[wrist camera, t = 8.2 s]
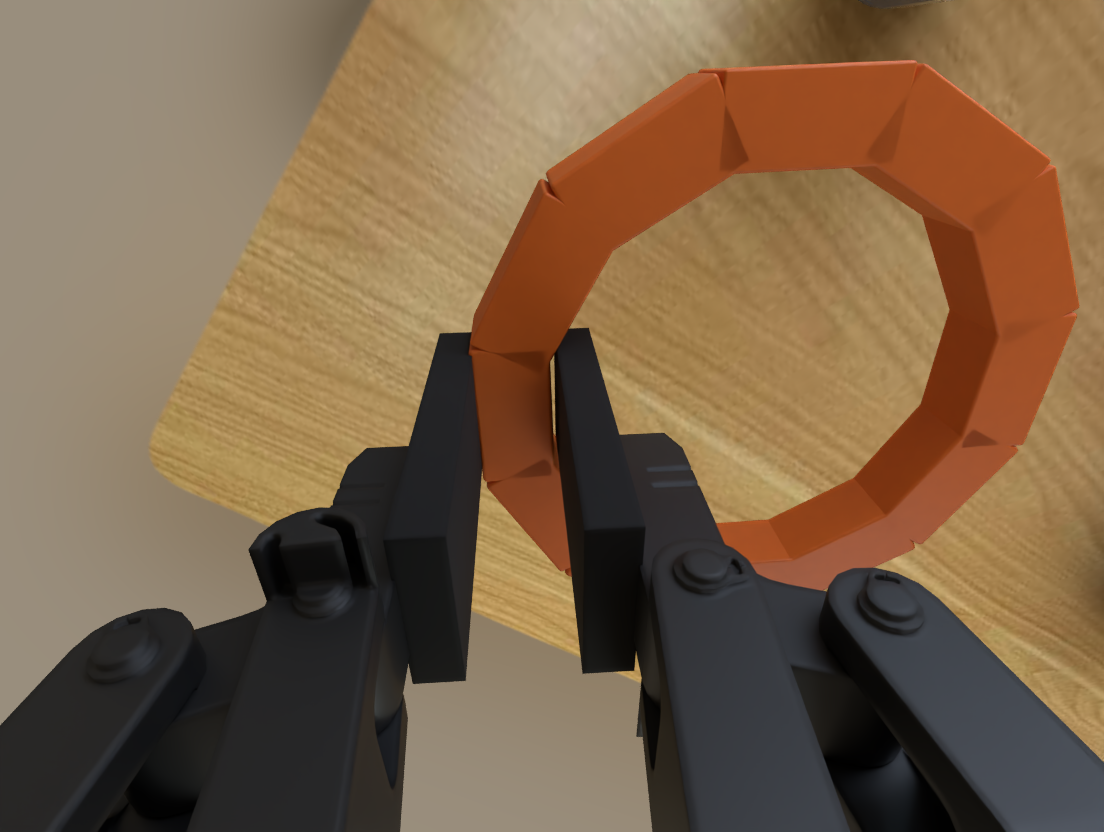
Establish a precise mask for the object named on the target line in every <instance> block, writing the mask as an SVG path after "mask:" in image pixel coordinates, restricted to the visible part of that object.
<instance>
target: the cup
mask: <svg viewBox="0 0 1104 832" xmlns="http://www.w3.org/2000/svg"><path fill="white" fill-rule="evenodd" d="M859 1H860V2H862V3H863V4H865V5H868V6H870V7H874V8H879V9H891V8H901V7H912V6H919V5H926V4H932V3H939V2H946V1H953V0H859Z"/></svg>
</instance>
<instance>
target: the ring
mask: <svg viewBox="0 0 1104 832" xmlns="http://www.w3.org/2000/svg"><path fill="white" fill-rule="evenodd" d="M1050 161H1051V160H1050V158H1049V157H1048V156H1046V155H1045V154H1044V153H1042V152H1041V151H1040V150H1039V149H1037V148H1036V147H1035V146H1033V145H1032V144H1031V143H1029V142H1028V141H1027V140H1025V139H1024V138H1023V137H1022V136H1020V135H1019V134H1018V133H1016V132H1015V131H1014V130H1012V129H1011V128H1010V127H1008V126H1007V125H1006V124H1005V123H1003V122H1002V121H1001V120H999V119H998V118H997V117H995V116H994V115H993V114H991V113H990V112H989V111H988V110H986V109H985V108H984V107H982V106H981V105H980V104H978V103H977V102H976V101H974V100H973V99H972V98H971V97H969V96H968V95H967V94H965V93H964V92H963V91H961V90H960V89H959V88H957V87H956V86H955V85H954V84H952V83H951V82H950V81H948V80H947V79H946V78H944V77H943V76H942V75H940V74H939V73H938V72H937V71H935V70H934V69H933V68H931V67H930V66H929V65H927V64H917V61H915V60H905V61H873V62H849V63H826V64H804V65H782V66H759V67H737V68H715V69H701V70H699V72H698V73H691V74H688V75H686V76H685V77H683V78H682V79H681V80H679V81H678V82H676V83H675V84H673V85H672V86H670V87H669V88H667V89H666V90H665V91H663V92H662V93H660V94H659V95H657V96H656V97H654V98H653V99H651V100H650V101H649V102H647V103H646V104H644V105H643V106H641V107H640V108H638V109H637V110H635V111H634V112H633V113H631V114H630V115H628V116H627V117H625V118H624V119H622V120H621V121H619V122H618V123H616V124H615V125H614V126H612V127H611V128H609V129H608V130H606V131H605V132H603V133H602V134H600V135H599V136H598V137H596V138H595V139H593V140H592V141H590V142H589V143H587V144H586V145H584V146H583V147H582V148H580V149H579V150H577V151H576V152H574V153H573V154H571V155H570V156H568V157H567V158H565V159H564V160H563V161H561V162H560V163H558V164H557V165H555V166H554V167H552V168H551V169H549V170H548V171H547V173H546V176H547V179H548V182H547V181H545V180H544V179H540V180H539V181H538V183H537V186H536V188H535V190H534V192H533V194H532V196H531V198H530V200H529V202H528V204H527V206H526V208H525V210H524V212H523V215H522V217H521V219H520V221H519V223H518V225H517V227H516V229H515V231H514V233H513V235H512V237H511V239H510V241H509V244H508V246H507V248H506V250H505V252H504V254H503V256H502V258H501V260H500V262H499V264H498V266H497V268H496V270H495V273H494V275H493V277H492V279H491V281H490V283H489V285H488V287H487V289H486V291H485V293H484V295H483V297H482V299H481V302H480V304H479V306H478V308H477V310H476V312H475V314H474V318H473V326H472V333H471V340H470V347H469V355H470V356H472V365H473V376H474V387H475V398H476V408H477V419H478V430H479V440H480V450H481V461H482V472H483V478H484V480H485V481H487V488H488V489H489V490H490V491H491V493H492V494H493V495H494V496H495V497H496V498H497V499H498V501H499V502H500V503H501V504H502V505H503V506H504V507H505V509H506V510H507V511H508V512H509V513H510V514H511V515H512V517H513V518H514V519H515V520H516V521H517V522H518V523H519V525H520V526H521V527H522V528H523V529H524V530H525V531H526V533H527V534H528V535H529V536H530V537H531V538H532V539H533V541H534V542H535V543H536V544H537V545H538V546H539V547H540V549H541V550H542V551H543V552H544V553H545V554H546V555H547V557H548V558H549V559H550V560H551V561H552V562H553V563H554V565H555V566H556V567H557V568H558V569H559V570H560V571H564V570H565V573H566V574H567V575H568V576H571V577H572V575H571V566H570V557H569V548H568V540H567V531H566V522H565V513H564V504H563V496H562V487H561V478H560V469H559V460H558V452H557V443H556V436H555V435H554V433H553V418H552V395H551V372H550V361H551V359H552V357H553V356H554V354H555V352H556V350H557V349H558V347H559V345H560V343H561V341H562V340H563V338H564V336H565V334H566V333H567V331H568V329H569V327H570V326H571V324H572V322H573V320H574V318H575V317H576V315H577V313H578V311H579V310H580V308H581V306H582V304H583V303H584V301H585V299H586V297H587V296H588V294H589V292H590V290H591V288H592V287H593V285H594V283H595V281H596V280H597V278H598V276H599V274H600V273H601V271H602V269H603V267H604V265H605V264H606V262H607V260H608V258H609V257H610V255H611V253H612V251H613V250H615V249H617V248H618V247H620V246H621V245H623V244H624V243H626V242H628V241H629V240H631V239H632V238H634V237H635V236H637V235H639V234H640V233H642V232H643V231H645V230H646V229H648V228H650V227H651V226H653V225H654V224H656V223H658V222H659V221H661V220H662V219H664V218H665V217H667V216H669V215H670V214H672V213H673V212H675V211H676V210H678V209H680V208H681V207H683V206H684V205H686V204H687V203H689V202H691V201H692V200H694V199H695V198H697V197H699V196H700V195H702V194H703V193H705V192H706V191H708V190H710V189H711V188H713V187H714V186H716V185H717V184H719V183H721V182H722V181H724V180H725V179H727V178H728V177H730V176H732V175H733V174H740V173H760V172H779V171H799V170H818V169H838V168H852V169H853V170H855V171H856V172H858V173H859V174H861V175H862V176H864V177H865V178H867V179H868V180H870V181H871V182H873V183H874V184H876V185H877V186H879V187H880V188H882V189H883V190H885V191H886V192H888V193H889V194H891V195H892V196H894V197H895V198H897V199H899V200H900V201H902V202H903V203H905V204H906V205H908V206H909V207H911V208H912V209H914V210H915V211H917V212H918V213H920V214H921V215H922V217H923V220H924V224H925V227H926V230H927V234H928V237H929V241H930V244H931V247H932V251H933V254H934V258H935V261H936V264H937V268H938V271H939V275H940V278H941V282H942V285H943V288H944V292H945V295H946V299H947V302H948V305H949V309H950V310H949V313H948V317H947V320H946V323H945V326H944V330H943V333H942V336H941V340H940V343H939V346H938V349H937V353H936V356H935V359H934V362H933V366H932V369H931V372H930V375H929V379H928V382H927V385H926V389H925V392H924V395H923V398H922V402H921V404H920V406H919V407H918V408H917V409H916V410H915V411H914V412H913V413H912V414H911V415H910V417H909V418H908V419H907V420H906V421H905V422H904V423H903V424H902V425H901V426H900V428H899V429H898V430H897V431H896V432H895V433H894V434H893V435H892V436H891V437H890V439H889V440H888V441H887V442H886V443H885V444H884V445H883V446H882V447H881V448H880V450H879V451H878V452H877V453H876V454H875V455H874V456H873V457H872V458H871V459H870V460H869V462H868V463H867V464H866V465H865V466H864V467H863V468H862V469H861V470H860V471H859V473H858V474H857V475H856V476H855V477H854V478H853V479H851V480H849V481H846V482H844V483H842V484H840V485H838V486H836V487H834V488H832V489H830V490H828V491H826V492H824V493H822V494H820V495H818V496H816V497H814V498H812V499H810V500H808V501H806V502H804V503H802V504H799V505H797V506H795V507H793V508H791V509H789V510H787V511H785V512H783V513H781V514H779V515H777V516H775V517H773V518H771V519H769V520H755V521H741V522H728V523H716V525H717V527H718V529H719V532H720V534H721V536H722V538H723V541H724V543H725V545H727V546H730V547H732V548H734V549H735V550H737V551H738V552H739V553H740V554H742V555H743V556H744V557H746V558H747V559H748V560H749V562H750V563H751V565H752V566H753V568H754V570H755V571H756V573H757V574H759V575H761V576H764V577H766V578H768V579H771V580H774V581H778V582H782V583H785V584H790V585H795V586H800V587H806V588H811V589H816V590H821V591H822V590H825V589H827V588H828V587H829V585H830V583H831V582H832V581H833V579H834V578H835V577H836V575H837V574H839V573H842V572H844V571H847V570H849V569H852V568H873V567H875V566H878V565H880V564H882V563H884V562H887V561H889V560H891V559H893V558H895V557H898V556H900V555H902V554H904V553H906V552H909V551H911V550H913V549H914V548H915V546H914V543H913V542H915V543H918V544H922V543H923V542H924V541H925V540H927V539H928V538H929V537H930V536H931V535H932V534H933V533H934V532H935V531H936V530H937V529H938V528H939V527H940V526H941V525H942V524H943V523H944V522H945V521H946V520H947V519H948V518H949V517H950V516H951V515H952V514H953V513H955V512H956V511H957V510H958V509H959V508H960V507H961V506H962V505H963V504H964V503H965V502H966V501H967V500H968V499H969V498H970V497H971V496H972V495H973V494H974V493H975V492H976V491H977V490H978V489H979V488H980V487H982V486H983V485H984V484H985V483H986V482H987V481H988V480H989V479H990V478H991V477H992V476H993V475H994V474H995V473H996V472H997V471H998V470H999V469H1000V468H1001V467H1002V466H1003V465H1004V464H1005V463H1006V462H1007V461H1008V460H1010V459H1011V458H1012V457H1013V456H1014V455H1015V454H1016V453H1017V451H1018V449H1017V447H1015V446H1014V445H1022V444H1023V443H1024V442H1025V439H1026V437H1027V434H1028V432H1029V430H1030V427H1031V425H1032V422H1033V420H1034V418H1035V415H1036V413H1037V411H1038V408H1039V406H1040V403H1041V401H1042V399H1043V396H1044V394H1045V391H1046V389H1047V387H1048V384H1049V382H1050V380H1051V377H1052V375H1053V372H1054V370H1055V368H1056V365H1057V363H1058V361H1059V358H1060V356H1061V353H1062V351H1063V349H1064V346H1065V344H1066V341H1067V339H1068V337H1069V334H1070V332H1071V330H1072V327H1073V325H1074V322H1075V320H1076V318H1077V314H1076V313H1074V312H1072V311H1074V310H1076V309H1078V308H1079V301H1078V295H1077V289H1076V284H1075V278H1074V272H1073V266H1072V260H1071V254H1070V248H1069V242H1068V237H1067V231H1066V225H1065V219H1064V213H1063V207H1062V201H1061V196H1060V190H1059V184H1058V178H1057V172H1056V167H1055V166H1053V165H1048V164H1049V163H1050Z"/></svg>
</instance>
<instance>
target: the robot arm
mask: <svg viewBox="0 0 1104 832" xmlns="http://www.w3.org/2000/svg"><path fill="white" fill-rule="evenodd" d="M471 333H472V332H467V333H440V335H439V338H438V342H437V346H436V349H435V353H434V357H433V360H432V364H431V367H430V371H429V375H428V378H427V382H426V385H425V389H424V393H423V396H422V400H421V404H420V407H419V411H418V414H417V418H416V422H415V425H414V429H413V432H412V436H411V440H410V443H409V446H402V447H380V448H366V449H365V450H364V451H363V452H362V453H361V454H360V455H359V456H358V457H356V458H355V459H354V460H353V461H352V462H351V463H350V464H349V465H348V466H347V469H346V471H345V474H344V476H343V478H342V481H341V483H340V489H338V490H337V493H336V495H335V498H334V500H333V506H331V507H330V508H315V509H310V510H305V511H301V512H297V513H294V514H292V515H290V516H288V517H285V518H283V519H281V520H279V521H276V522H275V523H274V524H272V525H271V526H270V527H268V528H267V529H266V530H264V531H263V532H262V533H260V534H259V536H258V537H257V538H256V540H255V541H254V543H253V544H252V545H251V547H250V548H249V553H250V556H251V558H252V561H253V564H254V567H255V569H256V572H257V575H258V578H259V581H260V583H261V586H262V589H263V591H264V594H265V597H266V600H267V602H266V605H265V606H264V607H262V608H260V609H259V610H256V611H253V612H250V613H248V614H245V615H243V616H239V617H236V618H233V619H229V620H226V621H223V622H219V623H216V624H213V625H209V626H206V627H202V628H199V629H196V630H194V628H193V626H192V624H191V622H190V621H189V620H188V619H187V618H186V617H185V616H184V615H183V613H182V612H178V611H174V610H171V609H167V608H157V609H146V610H140V611H137V612H134V613H131V614H128V615H125V616H122V617H119V618H116V619H115V620H113V621H111V622H109V623H107V624H106V625H104V626H102V627H100V628H99V629H97V630H95V631H93V632H92V633H90V634H89V635H88V636H87V637H86V638H85V639H83V640H82V641H81V642H80V643H79V644H78V645H76V646H75V647H74V648H73V649H72V650H71V651H70V652H69V653H68V654H67V655H66V656H65V657H64V658H63V659H62V660H61V661H60V662H59V663H58V664H57V666H56V667H55V668H54V669H53V670H52V671H51V672H50V673H49V674H48V675H47V676H46V677H45V678H44V679H43V680H42V681H41V683H40V684H39V685H38V686H37V687H36V688H35V689H34V690H33V691H32V692H31V693H30V694H29V695H28V697H26V699H25V700H24V701H23V702H22V703H21V704H20V705H19V706H18V707H17V708H16V709H15V710H14V711H13V712H12V713H11V714H10V716H9V717H8V718H7V719H6V720H5V721H4V722H3V723H2V724H1V725H0V832H400V824H401V808H402V795H403V780H404V765H405V750H406V736H407V722H408V717H407V711H406V704H405V699H404V695H403V690H404V685H405V679H406V673H407V668H408V663H409V668H410V673H411V677H412V682H413V684H419V683H436V682H453V681H465V680H466V669H467V655H468V643H469V630H470V617H471V605H472V592H473V579H474V566H475V553H476V540H477V527H478V514H479V501H480V488H481V476H482V461H481V450H480V440H479V430H478V419H477V408H476V398H475V387H474V376H473V365H472V356H470V355H469V347H470V340H471ZM554 365H555V425H556V443H557V452H558V460H559V469H560V478H561V487H562V496H563V504H564V513H565V522H566V531H567V540H568V548H569V557H570V566H571V575H572V584H573V593H574V601H575V610H576V619H577V628H578V637H579V645H580V654H581V663H582V672H583V674H584V673H601V672H618V671H634V668H635V655H636V653H637V658H638V662H639V667H640V672H641V677H642V680H641V691H640V702H639V714H638V724H637V737H643V744H644V752H645V762H646V772H647V782H648V792H649V802H650V812H651V821H652V831H653V832H1104V762H1103V761H1102V760H1101V759H1100V758H1099V757H1098V756H1097V755H1096V754H1095V753H1094V752H1093V751H1092V750H1091V749H1090V748H1089V747H1088V746H1087V745H1086V744H1085V743H1084V742H1083V741H1082V740H1081V739H1080V738H1079V737H1078V736H1077V735H1076V734H1075V733H1074V732H1073V731H1071V730H1070V729H1069V728H1068V727H1067V726H1066V725H1065V724H1064V723H1063V722H1062V721H1061V720H1060V719H1059V718H1058V717H1057V716H1056V715H1055V714H1054V713H1053V712H1052V711H1051V710H1050V709H1049V708H1048V707H1047V706H1046V705H1045V704H1044V703H1043V702H1042V701H1041V700H1040V699H1039V698H1038V697H1037V696H1036V695H1035V694H1034V693H1033V692H1032V691H1031V690H1030V689H1029V688H1028V687H1027V686H1026V685H1025V684H1024V683H1023V682H1022V681H1021V680H1020V679H1019V678H1018V677H1017V676H1016V675H1015V674H1014V673H1013V672H1012V671H1011V670H1010V669H1009V668H1008V667H1007V666H1006V665H1005V664H1004V663H1003V662H1002V661H1001V660H1000V659H999V658H998V657H997V656H996V655H995V654H994V653H993V652H992V651H991V650H990V649H989V648H988V647H987V646H986V645H985V644H984V643H983V642H982V641H981V640H980V639H979V638H978V637H977V636H976V635H975V634H974V633H973V632H972V631H971V630H970V629H969V628H968V627H967V626H966V625H965V624H964V623H963V622H962V621H961V620H960V619H959V618H958V617H957V616H956V615H955V614H954V613H953V612H952V611H951V610H950V609H949V608H948V607H946V606H945V605H944V604H943V603H942V602H941V601H940V600H939V599H938V598H937V597H936V596H935V595H933V594H932V593H931V592H929V591H928V590H927V589H925V588H924V587H923V586H922V585H920V584H919V583H917V582H915V581H913V580H910V579H908V578H906V577H904V576H902V575H900V574H898V573H895V572H890V571H886V570H882V569H877V568H852V569H849V570H847V571H844V572H842V573H839V574H837V575H836V577H835V578H834V579H833V581H832V582H831V583H830V585H829V587H828V590H827V592H826V591H821V590H816V589H811V588H806V587H800V586H795V585H790V584H785V583H782V582H778V581H774V580H771V579H768V578H766V577H764V576H761V575H759V574H757V573H756V571H755V570H754V568H753V566H752V565H751V563H750V562H749V560H748V559H747V558H746V557H744V556H743V555H742V554H740V553H739V552H738V551H737V550H735V549H734V548H732V547H730V546H727V545H725V543H724V541H723V538H722V536H721V534H720V532H719V529H718V527H717V525H716V523H715V520H714V518H713V516H712V514H711V511H710V509H709V507H708V505H707V502H706V500H705V498H704V496H703V493H702V491H701V489H700V486H698V485H697V480H696V477H695V475H694V473H693V471H692V470H691V466H690V464H689V462H688V459H687V457H686V455H685V453H684V450H683V448H682V447H680V446H679V445H678V444H677V443H676V442H674V441H673V440H672V439H671V438H670V437H668V436H667V435H666V434H665V433H650V434H627V435H619V432H618V429H617V425H616V422H615V418H614V415H613V411H612V408H611V404H610V401H609V397H608V394H607V390H606V387H605V383H604V380H603V376H602V373H601V369H600V366H599V362H598V359H597V356H596V352H595V349H594V345H593V342H592V338H591V335H590V331H589V328H574V329H568V331H567V333H566V334H565V336H564V338H563V340H562V341H561V343H560V345H559V347H558V349H557V350H556V352H555V354H554Z"/></svg>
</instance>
